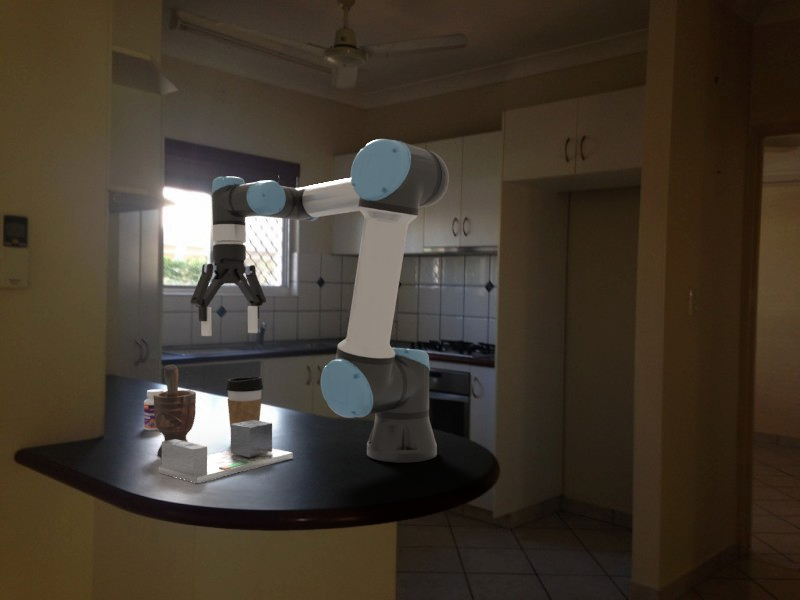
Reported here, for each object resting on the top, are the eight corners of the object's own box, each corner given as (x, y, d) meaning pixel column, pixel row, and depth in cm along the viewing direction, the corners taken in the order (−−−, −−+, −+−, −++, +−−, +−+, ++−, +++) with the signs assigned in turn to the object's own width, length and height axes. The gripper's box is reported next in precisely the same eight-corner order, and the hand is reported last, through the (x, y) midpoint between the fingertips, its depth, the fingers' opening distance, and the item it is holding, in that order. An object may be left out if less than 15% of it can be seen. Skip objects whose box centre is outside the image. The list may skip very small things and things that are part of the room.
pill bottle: (139, 430, 172) (139, 391, 172) (152, 426, 177) (151, 388, 177) (158, 431, 171) (158, 392, 171) (170, 427, 176) (170, 389, 176)
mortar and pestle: (204, 458, 145) (204, 363, 144) (161, 464, 140) (161, 365, 140) (190, 447, 154) (190, 358, 154) (150, 452, 150) (149, 360, 150)
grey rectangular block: (279, 453, 143) (279, 424, 143) (257, 459, 139) (257, 429, 138) (253, 447, 148) (253, 419, 148) (230, 452, 144) (230, 424, 144)
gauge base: (292, 458, 145) (292, 429, 145) (197, 484, 126) (197, 450, 126) (254, 449, 153) (254, 421, 153) (158, 472, 134) (158, 441, 133)
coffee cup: (254, 447, 155) (254, 380, 155) (219, 445, 157) (219, 379, 157) (268, 439, 163) (268, 375, 163) (235, 437, 165) (235, 374, 165)
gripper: (259, 247, 174) (260, 331, 175) (173, 242, 155) (175, 336, 155) (279, 245, 170) (280, 332, 170) (194, 240, 150) (195, 337, 150)
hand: (230, 334), depth 162 cm, fingers open, 13 cm apart
